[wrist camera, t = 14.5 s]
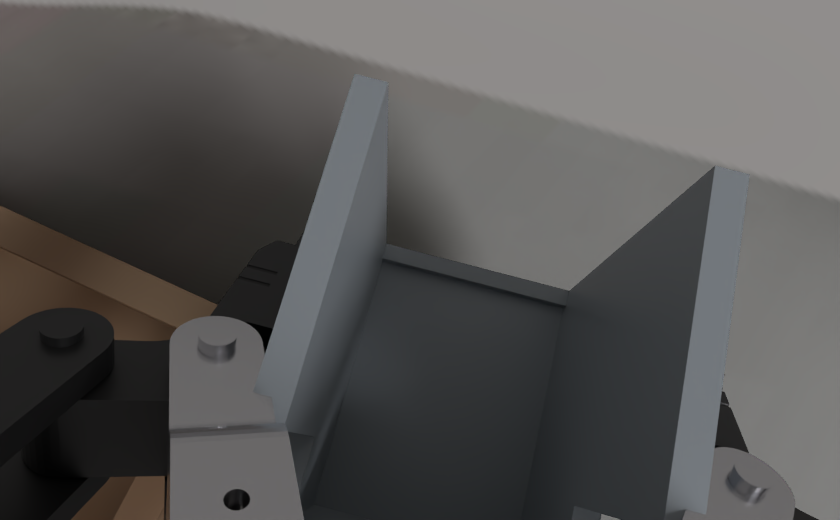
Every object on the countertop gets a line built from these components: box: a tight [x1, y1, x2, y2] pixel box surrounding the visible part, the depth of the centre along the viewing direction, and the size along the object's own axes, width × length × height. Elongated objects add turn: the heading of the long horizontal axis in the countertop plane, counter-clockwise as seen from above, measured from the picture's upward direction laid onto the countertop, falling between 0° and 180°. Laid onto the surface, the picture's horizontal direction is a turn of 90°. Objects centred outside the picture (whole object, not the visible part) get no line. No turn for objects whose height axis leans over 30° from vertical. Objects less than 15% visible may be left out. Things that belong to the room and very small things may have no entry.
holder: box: [253, 74, 750, 520], centre depth 13 cm, size 7×6×9 cm
